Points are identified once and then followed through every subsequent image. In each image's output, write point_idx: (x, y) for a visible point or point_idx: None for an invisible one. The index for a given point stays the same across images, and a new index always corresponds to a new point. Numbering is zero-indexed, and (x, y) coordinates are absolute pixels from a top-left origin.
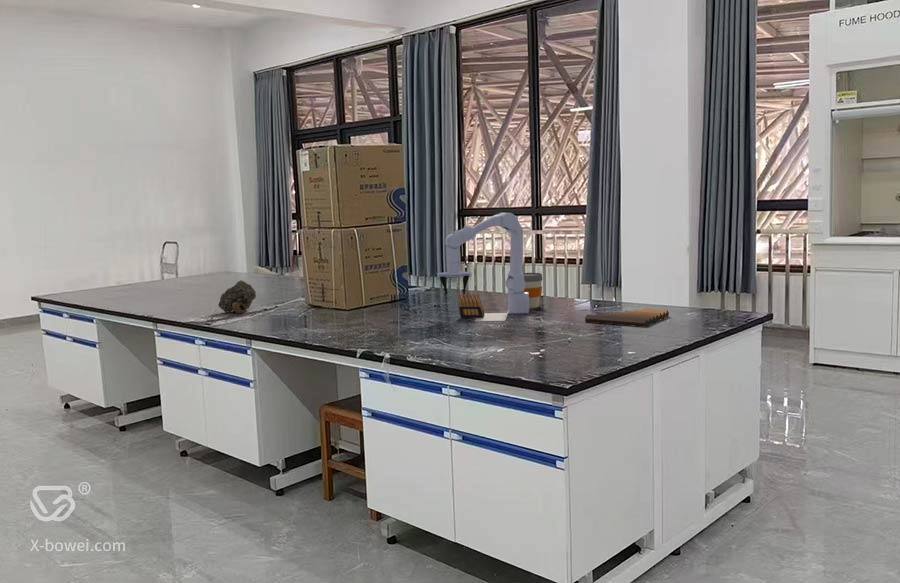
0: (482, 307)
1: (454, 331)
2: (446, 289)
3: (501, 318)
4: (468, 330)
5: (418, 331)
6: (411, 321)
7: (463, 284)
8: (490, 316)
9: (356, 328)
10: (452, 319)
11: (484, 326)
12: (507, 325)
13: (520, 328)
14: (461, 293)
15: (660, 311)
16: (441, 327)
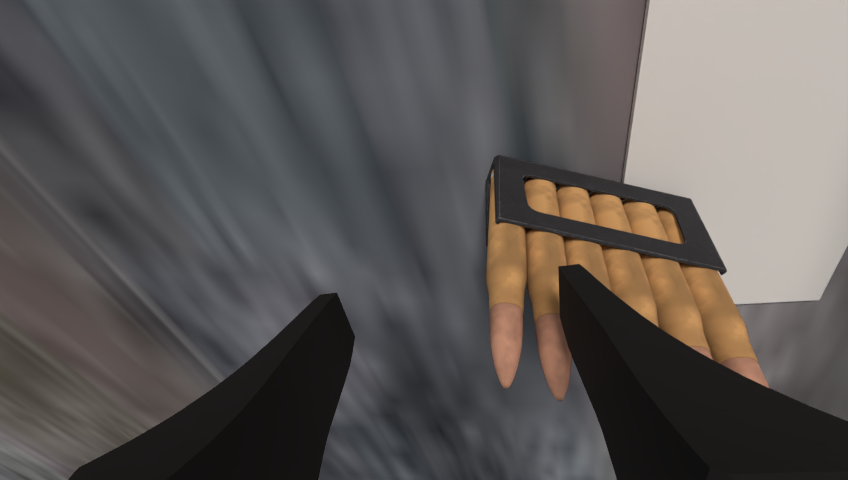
0: (717, 255)
1: (521, 471)
2: (336, 391)
3: (816, 239)
4: (579, 462)
5: (375, 465)
6: (216, 301)
7: (618, 463)
8: (742, 157)
9: (95, 420)
10: (441, 244)
11: None
12: (791, 393)
13: None
14: (547, 376)
15: None
16: (444, 417)
